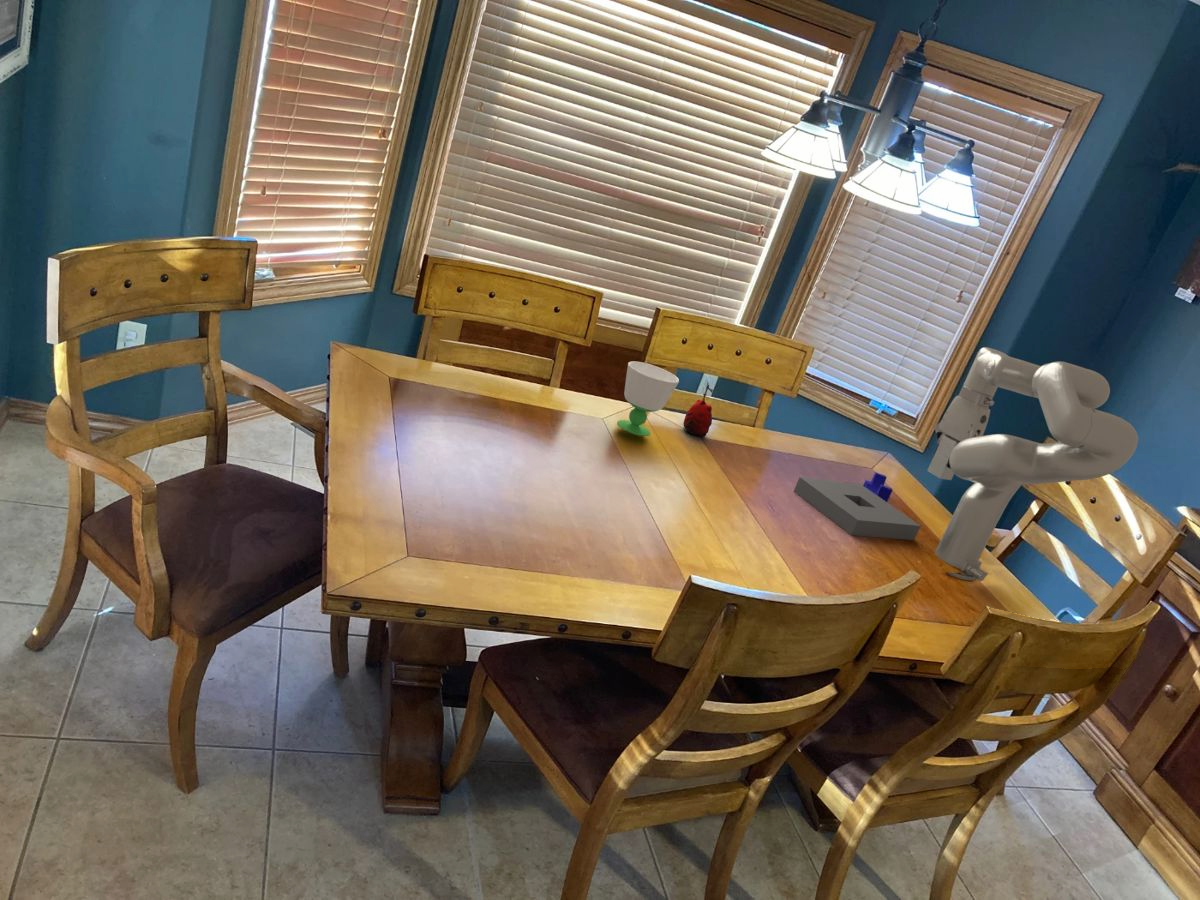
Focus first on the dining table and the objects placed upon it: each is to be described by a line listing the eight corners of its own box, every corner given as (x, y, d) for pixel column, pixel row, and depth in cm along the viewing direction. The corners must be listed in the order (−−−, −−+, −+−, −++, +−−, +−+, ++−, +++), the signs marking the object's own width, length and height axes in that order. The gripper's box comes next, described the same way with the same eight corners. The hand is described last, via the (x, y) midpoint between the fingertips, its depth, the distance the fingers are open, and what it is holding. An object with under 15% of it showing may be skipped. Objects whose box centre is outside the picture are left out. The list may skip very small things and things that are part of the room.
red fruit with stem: (711, 437, 258) (730, 386, 253) (697, 438, 252) (716, 387, 248) (689, 425, 262) (708, 375, 257) (675, 426, 256) (694, 375, 252)
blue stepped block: (861, 489, 258) (870, 470, 256) (876, 495, 258) (885, 475, 256) (866, 504, 247) (876, 484, 245) (883, 510, 246) (892, 490, 245)
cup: (640, 420, 251) (659, 365, 246) (668, 442, 241) (690, 385, 236) (598, 415, 243) (618, 358, 238) (626, 437, 233) (647, 378, 228)
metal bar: (951, 480, 239) (967, 444, 236) (939, 478, 237) (956, 442, 234) (938, 472, 242) (954, 437, 239) (927, 470, 240) (943, 435, 237)
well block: (914, 540, 231) (920, 525, 229) (850, 535, 219) (857, 520, 218) (855, 497, 248) (861, 484, 247) (793, 491, 236) (799, 476, 235)
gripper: (1011, 412, 228) (979, 480, 234) (959, 387, 242) (929, 451, 247) (992, 408, 224) (959, 477, 230) (940, 383, 238) (910, 448, 243)
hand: (944, 463), depth 238 cm, fingers closed on metal bar, 4 cm apart
